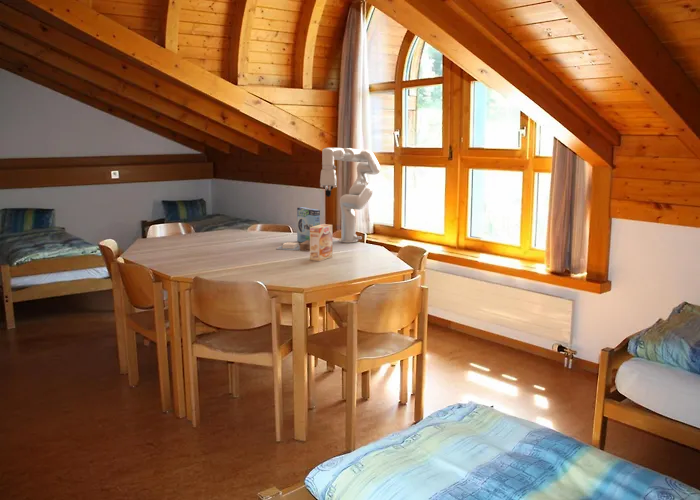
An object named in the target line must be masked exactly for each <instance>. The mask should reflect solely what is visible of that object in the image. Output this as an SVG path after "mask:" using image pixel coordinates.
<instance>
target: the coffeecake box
mask: <svg viewBox="0 0 700 500" xmlns="http://www.w3.org/2000/svg"><path fill="white" fill-rule="evenodd" d="M330 258H333V224H330V223H327V224H326V223H322V224H321V223H320V225H317V226H313V227H310V251H309V261H315V262H321V261H325V260H328V259H330Z"/></svg>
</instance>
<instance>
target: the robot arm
mask: <svg viewBox="0 0 700 500" xmlns="http://www.w3.org/2000/svg"><path fill="white" fill-rule="evenodd" d="M321 152H322V154H321V156H322V158H321V159H322V162H321V165H322V166H321V167H322V169H321V171H320V179H319V187H320V188H323V189H324V190H325V196H326V198H330V197H331V195H332V190H333V189H334V188H335V189H336V188H337V187H338V186H337V184H338V181H337V180H338V179H337V171H336V169H337V166H336V165H335V161H343V162H352V163H354V162H355V163H358V164H357V165H356V174H357V177H356V179H355V181H354V183H352V185H351V186H350V188H349V190H348V193H345V194H343V195H341V196H340V199H339V207H340V211H341V215H340V216H341V220H340V221H341V222H340V224H341V227H340V228H341V236H340V237H341V238H339V240H338V241H339V242H340V243H346V244H347V243H357V242H358V241H359V240H362V238H363V237H362V236H360V235H359V236H358V235H357V234H356V232H357V231H356V230H357V229H356V226H357V225H356V224H357V223H356V219H357V217H356V212H355V210H357V211H358V210H362V209H363V208H365V206H366V205H367V203H369V201H370V199H371V197H372V195H373V188H372V186H371V185H370V184H369V178H368V176H367V175H377V174H379V173H380V171H381V165H380V163H379V161H378V159H377V157H376V155H375V154H374V152H372V150H370V149H359V148H351V147H349V148H348V147H344V148H342V147H325V148H323V149H322V151H321Z"/></svg>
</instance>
